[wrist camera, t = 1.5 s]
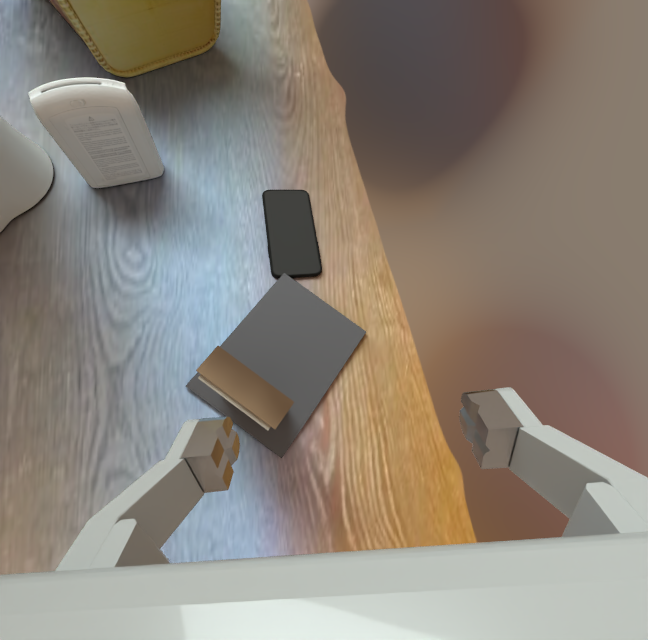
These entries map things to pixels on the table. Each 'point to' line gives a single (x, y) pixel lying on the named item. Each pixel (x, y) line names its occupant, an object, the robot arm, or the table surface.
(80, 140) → the photo printer
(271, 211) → the smartphone
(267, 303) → the mat
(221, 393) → the wooden block
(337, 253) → the table surface
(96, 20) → the picnic basket
